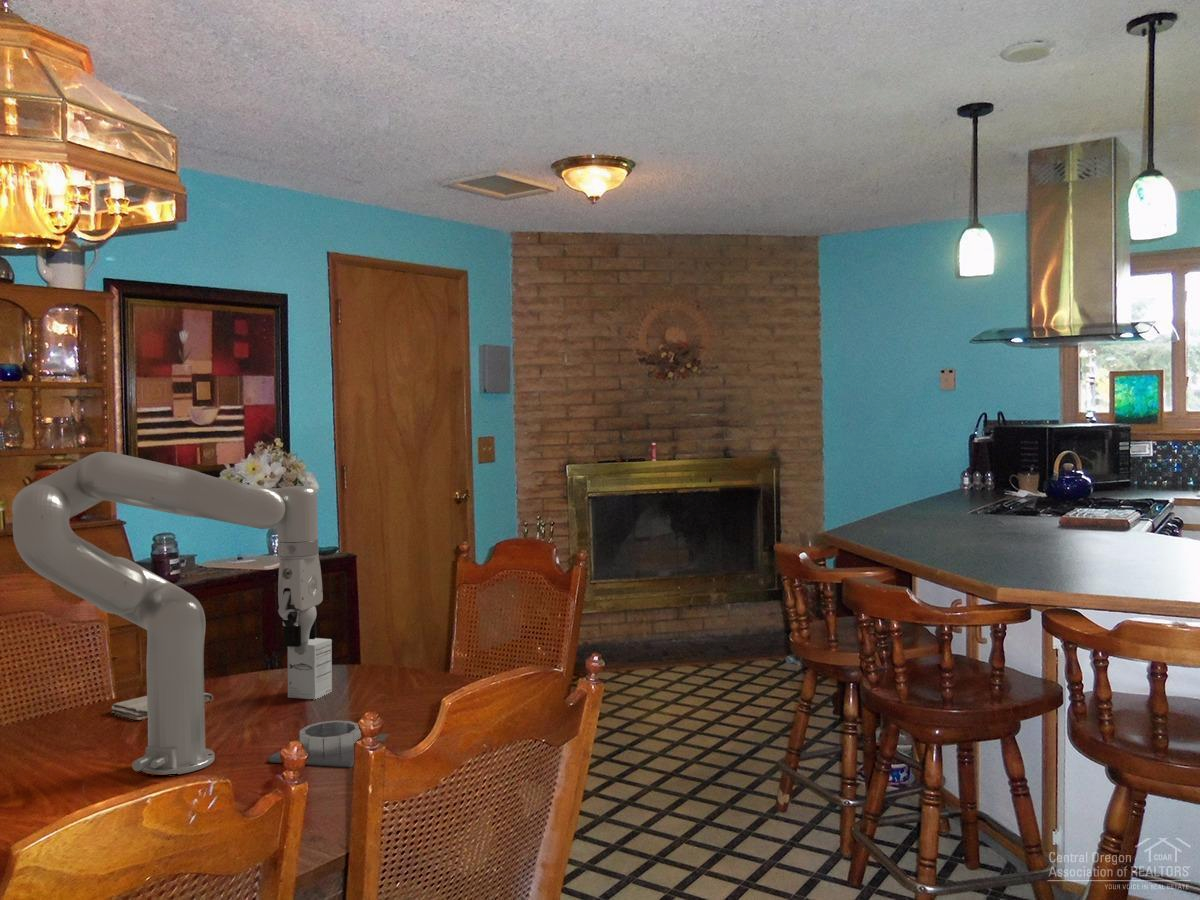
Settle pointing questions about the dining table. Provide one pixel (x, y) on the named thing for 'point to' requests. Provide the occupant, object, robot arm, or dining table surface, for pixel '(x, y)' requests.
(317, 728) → the duct collar
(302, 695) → the supplement box
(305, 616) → the lightbulb
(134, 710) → the washcloth
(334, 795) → the dining table surface
